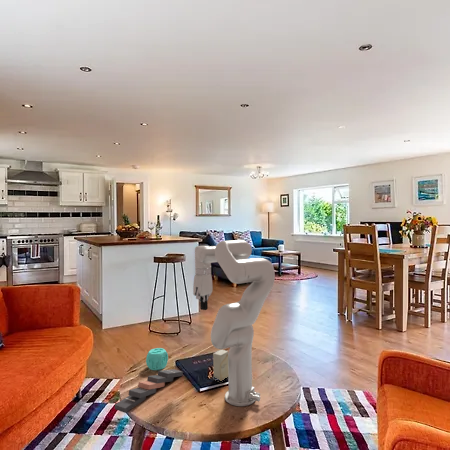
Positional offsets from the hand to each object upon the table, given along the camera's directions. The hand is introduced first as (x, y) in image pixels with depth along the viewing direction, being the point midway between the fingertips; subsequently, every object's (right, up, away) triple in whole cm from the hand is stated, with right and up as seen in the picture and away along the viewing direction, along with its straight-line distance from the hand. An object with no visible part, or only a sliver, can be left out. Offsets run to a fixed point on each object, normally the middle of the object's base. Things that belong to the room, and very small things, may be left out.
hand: (204, 309), depth 165 cm
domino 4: (-16, -29, -9) cm, 34 cm away
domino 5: (-12, -29, -4) cm, 31 cm away
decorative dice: (-23, -30, +4) cm, 38 cm away
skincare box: (+8, -29, -9) cm, 32 cm away
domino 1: (-21, -29, -19) cm, 41 cm away
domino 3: (-19, -29, -14) cm, 37 cm away
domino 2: (-25, -30, -24) cm, 45 cm away
